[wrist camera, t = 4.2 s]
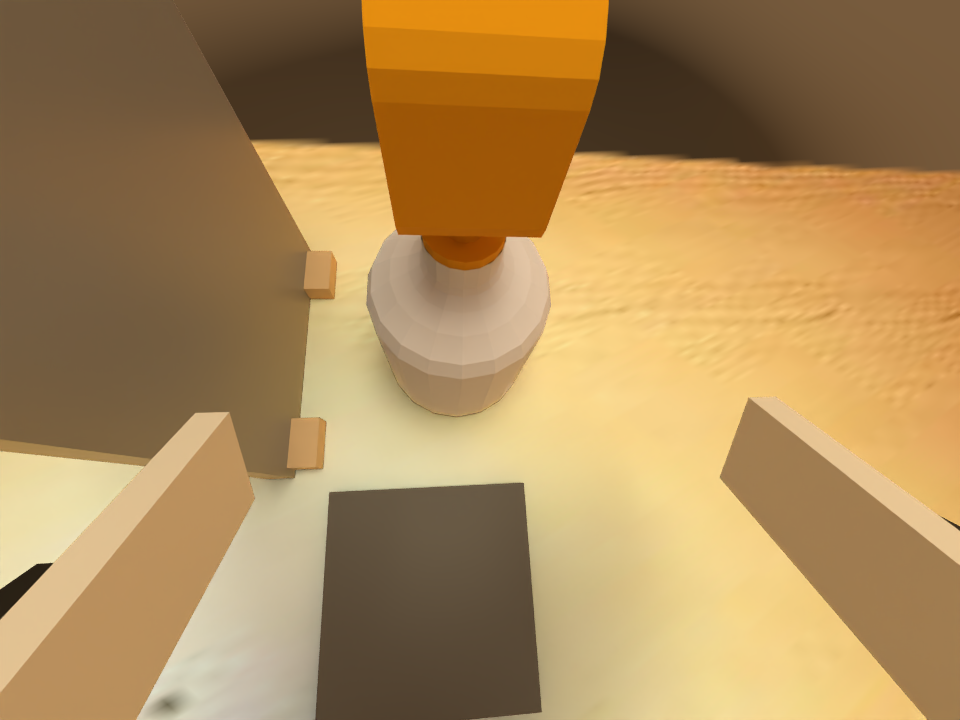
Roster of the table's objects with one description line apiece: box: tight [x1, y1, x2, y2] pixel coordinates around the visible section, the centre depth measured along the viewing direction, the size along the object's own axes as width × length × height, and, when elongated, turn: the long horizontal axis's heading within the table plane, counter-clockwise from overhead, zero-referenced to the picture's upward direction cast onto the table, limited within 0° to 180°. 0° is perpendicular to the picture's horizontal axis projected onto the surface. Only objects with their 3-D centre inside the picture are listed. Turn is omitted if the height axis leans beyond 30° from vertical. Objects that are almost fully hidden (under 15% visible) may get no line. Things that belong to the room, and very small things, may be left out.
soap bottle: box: [362, 0, 609, 416], centre depth 18 cm, size 9×9×25 cm
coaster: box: [316, 483, 542, 720], centre depth 24 cm, size 12×12×1 cm
